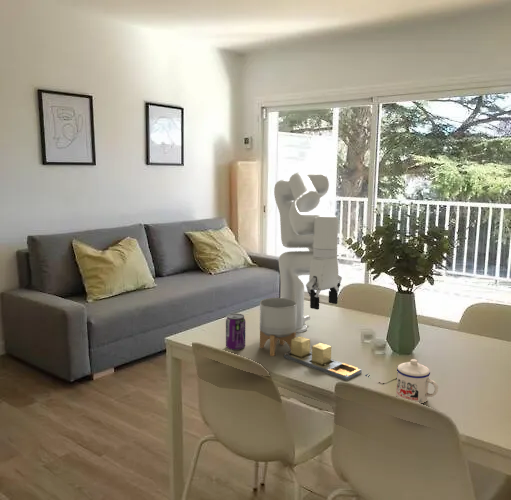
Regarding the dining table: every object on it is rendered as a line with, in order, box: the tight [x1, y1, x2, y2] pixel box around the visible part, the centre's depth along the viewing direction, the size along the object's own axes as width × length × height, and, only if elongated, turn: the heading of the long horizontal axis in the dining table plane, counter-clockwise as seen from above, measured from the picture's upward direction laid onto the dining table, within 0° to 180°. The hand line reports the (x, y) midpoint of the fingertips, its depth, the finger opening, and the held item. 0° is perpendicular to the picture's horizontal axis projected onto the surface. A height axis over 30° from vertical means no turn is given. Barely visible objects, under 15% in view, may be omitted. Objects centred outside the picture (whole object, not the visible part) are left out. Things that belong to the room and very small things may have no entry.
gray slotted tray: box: [283, 350, 362, 381], centre depth 169 cm, size 8×26×2 cm, turn 45°
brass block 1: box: [290, 335, 311, 359], centre depth 175 cm, size 4×4×6 cm
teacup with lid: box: [395, 358, 439, 404], centre depth 145 cm, size 12×9×12 cm
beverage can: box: [225, 313, 246, 351], centre depth 184 cm, size 7×7×12 cm
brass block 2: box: [311, 342, 332, 366], centre depth 169 cm, size 4×4×6 cm
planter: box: [259, 297, 297, 357], centre depth 181 cm, size 13×13×18 cm
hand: (323, 305), depth 165 cm, fingers open, 9 cm apart
